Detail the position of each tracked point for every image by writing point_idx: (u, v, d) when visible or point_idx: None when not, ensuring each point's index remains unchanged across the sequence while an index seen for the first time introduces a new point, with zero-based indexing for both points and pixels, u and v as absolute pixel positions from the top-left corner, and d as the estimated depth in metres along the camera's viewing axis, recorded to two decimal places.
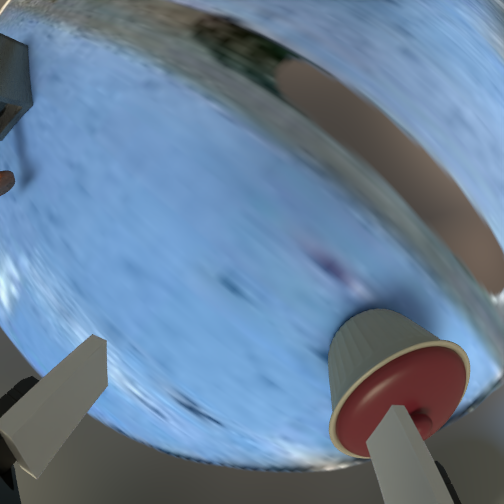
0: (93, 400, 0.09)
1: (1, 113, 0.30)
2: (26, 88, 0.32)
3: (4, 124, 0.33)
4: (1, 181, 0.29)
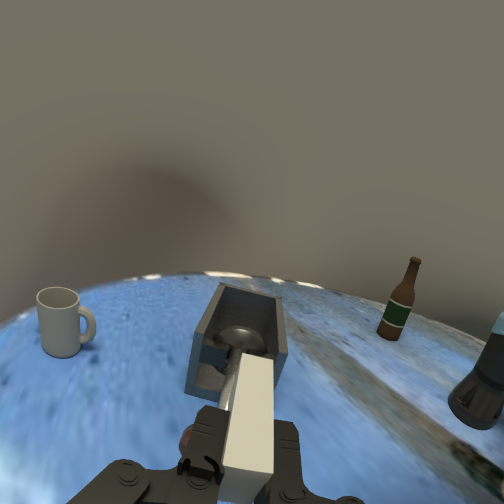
0: None
1: None
2: None
3: (215, 387, 0.36)
4: None
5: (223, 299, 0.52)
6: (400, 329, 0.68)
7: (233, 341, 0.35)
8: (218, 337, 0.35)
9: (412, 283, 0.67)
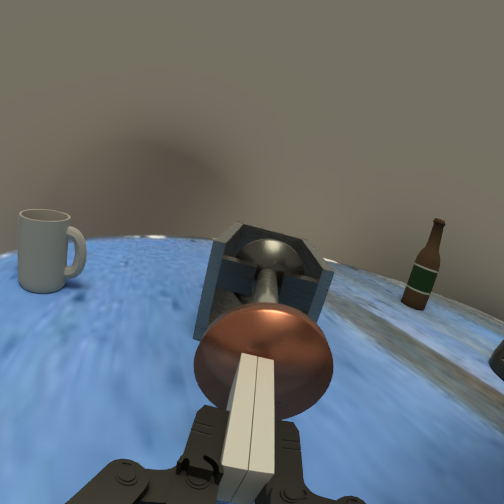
0: None
1: None
2: None
3: None
4: (304, 374, 0.13)
5: (240, 240, 0.45)
6: (427, 297, 0.61)
7: (262, 257, 0.29)
8: (244, 251, 0.29)
9: (437, 246, 0.60)
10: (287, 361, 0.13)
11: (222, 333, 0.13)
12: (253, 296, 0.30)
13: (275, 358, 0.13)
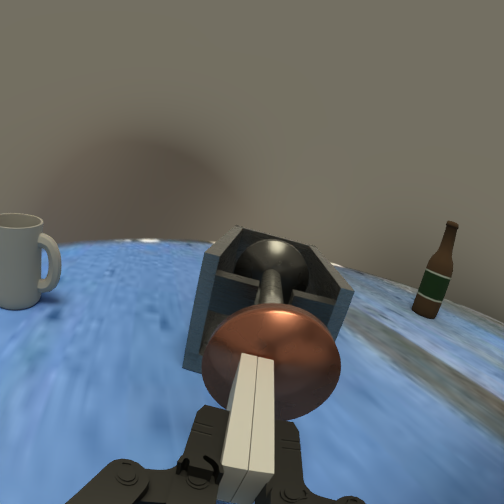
0: None
1: None
2: None
3: None
4: (312, 375, 0.13)
5: (240, 247, 0.40)
6: (438, 304, 0.55)
7: (266, 257, 0.29)
8: (248, 252, 0.29)
9: (450, 250, 0.54)
10: (295, 362, 0.13)
11: (230, 334, 0.13)
12: (257, 296, 0.30)
13: (283, 359, 0.13)
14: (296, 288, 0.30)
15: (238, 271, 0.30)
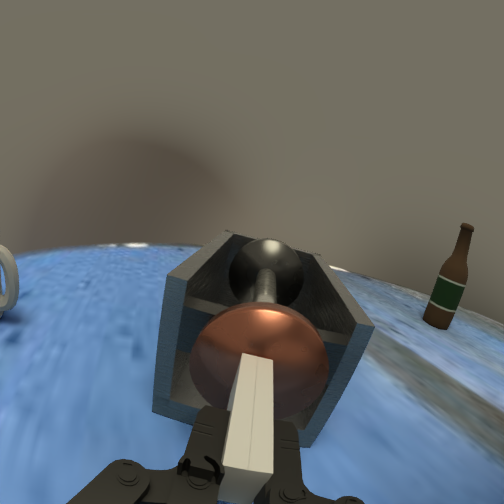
0: None
1: None
2: None
3: None
4: (300, 374, 0.13)
5: (230, 256, 0.34)
6: (452, 314, 0.49)
7: (261, 256, 0.29)
8: (243, 251, 0.29)
9: (465, 255, 0.48)
10: (282, 361, 0.13)
11: (217, 332, 0.13)
12: (252, 296, 0.30)
13: (270, 358, 0.13)
14: (291, 287, 0.29)
15: (233, 270, 0.30)
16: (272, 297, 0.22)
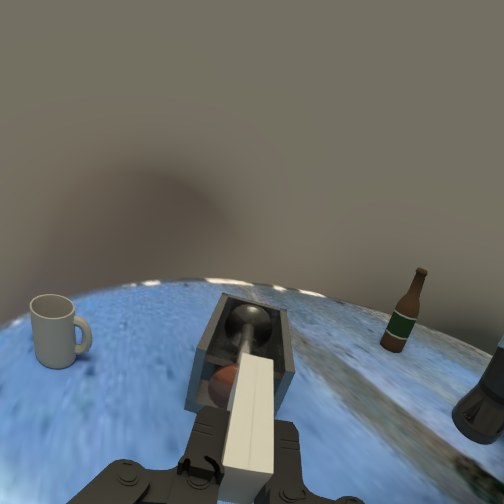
0: None
1: None
2: None
3: None
4: None
5: (225, 310, 0.50)
6: (404, 341, 0.66)
7: (245, 316, 0.45)
8: (233, 313, 0.45)
9: (417, 294, 0.65)
10: None
11: (220, 376, 0.29)
12: (239, 339, 0.46)
13: None
14: (264, 335, 0.46)
15: (227, 324, 0.46)
16: (249, 349, 0.38)
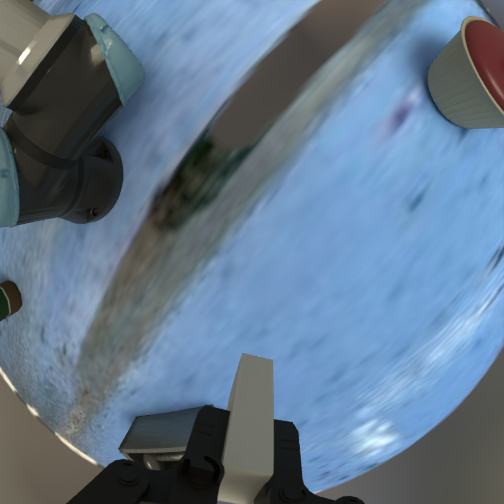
0: None
1: None
2: (192, 413, 0.47)
3: None
4: None
5: None
6: (6, 291, 0.42)
7: (159, 466, 0.41)
8: None
9: None
10: None
11: None
12: None
13: None
14: None
15: (168, 465, 0.44)
16: None
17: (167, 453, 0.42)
